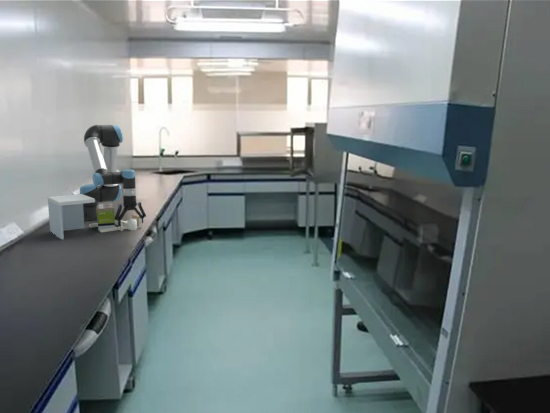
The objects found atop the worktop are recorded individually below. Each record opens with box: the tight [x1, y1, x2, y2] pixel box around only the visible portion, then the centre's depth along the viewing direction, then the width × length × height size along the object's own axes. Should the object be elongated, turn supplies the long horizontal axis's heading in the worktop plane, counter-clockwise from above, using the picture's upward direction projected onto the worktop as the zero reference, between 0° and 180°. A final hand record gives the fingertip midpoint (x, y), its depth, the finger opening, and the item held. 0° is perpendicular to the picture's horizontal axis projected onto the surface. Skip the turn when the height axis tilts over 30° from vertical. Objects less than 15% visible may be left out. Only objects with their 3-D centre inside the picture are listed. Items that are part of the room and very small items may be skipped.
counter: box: [47, 193, 95, 240], centre depth 302 cm, size 24×20×22 cm
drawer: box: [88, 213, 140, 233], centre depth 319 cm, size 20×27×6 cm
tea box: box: [96, 203, 116, 232], centre depth 315 cm, size 15×10×15 cm, turn 21°
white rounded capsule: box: [127, 218, 138, 231], centre depth 312 cm, size 5×5×7 cm
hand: (131, 229), depth 313 cm, fingers open, 12 cm apart
